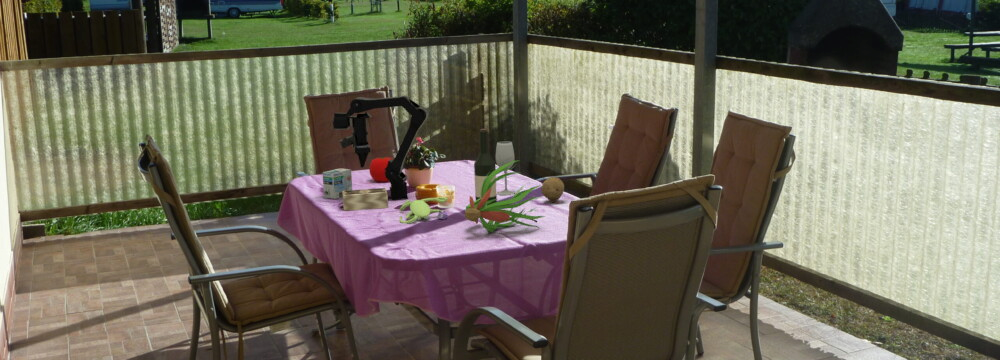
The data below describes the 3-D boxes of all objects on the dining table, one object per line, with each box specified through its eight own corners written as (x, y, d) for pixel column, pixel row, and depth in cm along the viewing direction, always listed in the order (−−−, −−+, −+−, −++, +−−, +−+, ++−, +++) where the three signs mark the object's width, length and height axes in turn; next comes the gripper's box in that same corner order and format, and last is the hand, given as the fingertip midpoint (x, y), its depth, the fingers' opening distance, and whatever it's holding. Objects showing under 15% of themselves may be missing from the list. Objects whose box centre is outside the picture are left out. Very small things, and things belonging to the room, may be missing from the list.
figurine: (448, 207, 414) (447, 193, 413) (450, 223, 388) (449, 208, 387) (400, 210, 413) (399, 195, 412) (399, 225, 387) (398, 210, 386)
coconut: (560, 205, 409) (560, 179, 407) (538, 204, 412) (537, 178, 410) (567, 200, 418) (566, 175, 416) (545, 199, 421) (544, 174, 419)
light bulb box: (334, 199, 435) (333, 173, 433) (323, 197, 439) (321, 172, 437) (353, 194, 443) (351, 169, 441) (342, 193, 447) (340, 167, 445)
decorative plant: (452, 250, 368) (502, 229, 392) (509, 244, 353) (558, 222, 377) (435, 177, 366) (487, 160, 390) (492, 168, 351) (542, 151, 374)
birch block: (386, 202, 425) (385, 187, 424) (388, 207, 415) (387, 191, 414) (343, 205, 422) (342, 190, 421) (344, 211, 412) (343, 195, 411)
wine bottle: (494, 208, 407) (491, 130, 402) (473, 208, 409) (470, 130, 403) (499, 203, 415) (496, 127, 410) (478, 203, 417) (475, 127, 411)
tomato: (365, 183, 466) (364, 158, 464) (377, 177, 479) (376, 153, 477) (390, 184, 463) (389, 159, 461) (402, 178, 475) (400, 154, 473)
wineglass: (516, 191, 438) (514, 140, 434) (514, 195, 431) (513, 143, 427) (497, 191, 439) (496, 141, 435) (496, 195, 431) (494, 144, 427)
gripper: (338, 127, 436) (341, 164, 439) (340, 133, 418) (343, 172, 421) (366, 125, 438) (368, 162, 441) (369, 131, 420) (371, 170, 423)
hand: (362, 167), depth 432 cm, fingers closed
